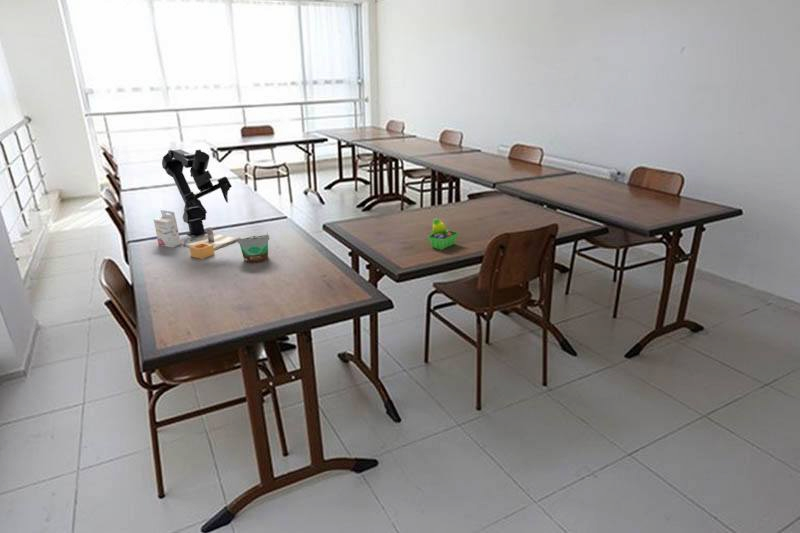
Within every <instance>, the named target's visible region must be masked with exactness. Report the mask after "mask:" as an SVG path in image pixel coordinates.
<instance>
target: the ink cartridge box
mask: <svg viewBox="0 0 800 533" xmlns="http://www.w3.org/2000/svg"><path fill="white" fill-rule="evenodd" d="M160 213H161V214H160V215H161V216H160V217H156V218H153V223H154V228H155V233H156V236H157V237H156V238H157V242H158V246H162V245H163V246H164V247H167V246H168V247H167V248H174V247H177V246H180V245H181V244H182V243H181V238H180V232H179V227H178V222H177V218H176V214H175V212H174V211H170V210H169V211H168V210H162V209H161V210H160Z"/></svg>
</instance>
